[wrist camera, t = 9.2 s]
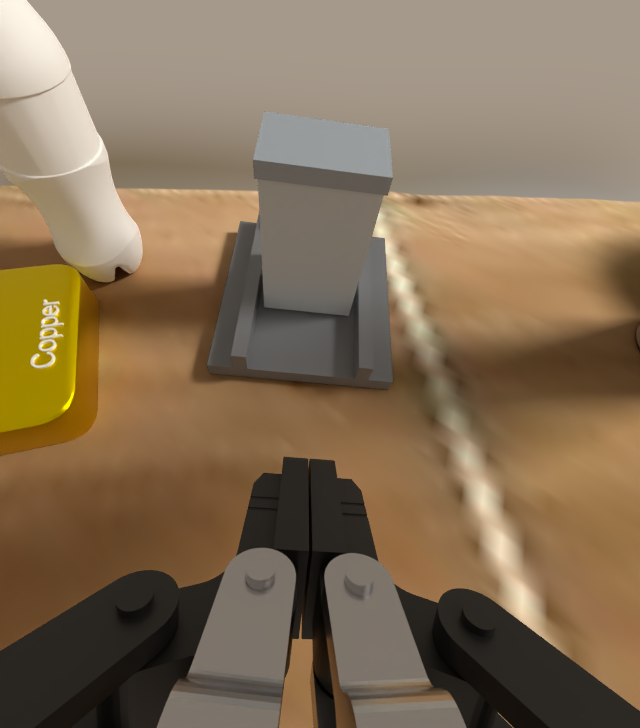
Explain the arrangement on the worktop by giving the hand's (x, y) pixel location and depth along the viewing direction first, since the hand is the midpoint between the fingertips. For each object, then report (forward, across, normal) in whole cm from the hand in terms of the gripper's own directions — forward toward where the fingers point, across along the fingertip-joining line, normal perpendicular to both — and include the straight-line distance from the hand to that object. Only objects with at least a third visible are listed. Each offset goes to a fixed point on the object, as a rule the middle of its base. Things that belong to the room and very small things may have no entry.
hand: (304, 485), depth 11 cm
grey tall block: (+26, 0, -4) cm, 27 cm away
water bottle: (+30, +20, -4) cm, 36 cm away
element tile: (+21, +25, +5) cm, 33 cm away
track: (+28, 0, -2) cm, 28 cm away
